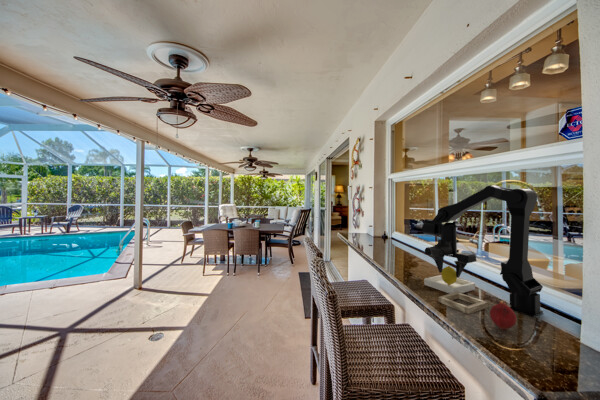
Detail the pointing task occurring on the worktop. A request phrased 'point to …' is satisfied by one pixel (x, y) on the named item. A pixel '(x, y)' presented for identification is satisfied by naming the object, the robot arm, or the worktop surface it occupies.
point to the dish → (458, 286)
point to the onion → (503, 315)
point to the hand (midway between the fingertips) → (448, 274)
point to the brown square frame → (469, 309)
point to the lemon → (449, 275)
